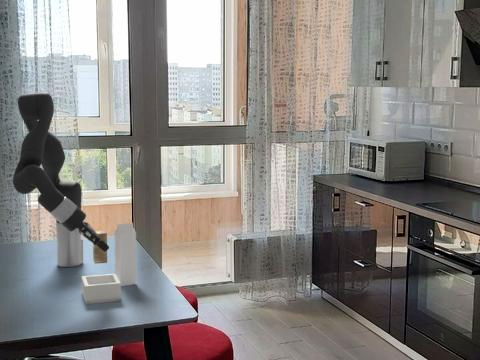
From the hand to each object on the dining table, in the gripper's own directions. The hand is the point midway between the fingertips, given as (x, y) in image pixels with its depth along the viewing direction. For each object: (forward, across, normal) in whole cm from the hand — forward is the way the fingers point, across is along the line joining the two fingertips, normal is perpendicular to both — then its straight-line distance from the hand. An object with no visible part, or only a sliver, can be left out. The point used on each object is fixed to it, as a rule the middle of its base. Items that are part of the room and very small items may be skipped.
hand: (106, 247), depth 203 cm
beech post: (+2, 0, +5) cm, 5 cm away
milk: (+18, +13, +6) cm, 23 cm away
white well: (+11, 0, +13) cm, 17 cm away
